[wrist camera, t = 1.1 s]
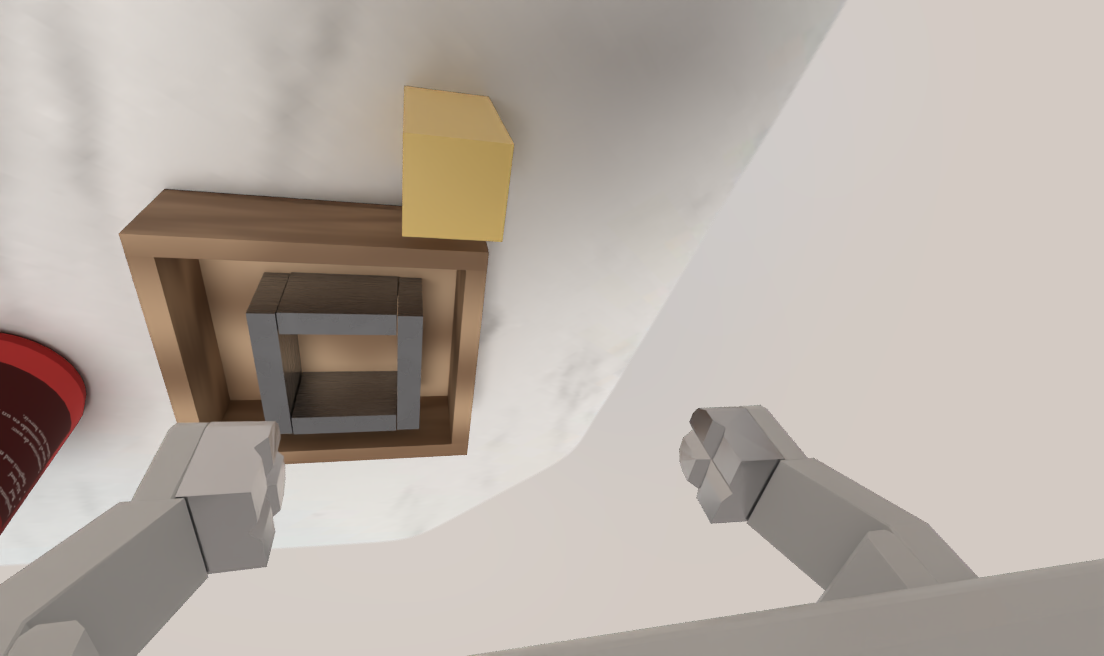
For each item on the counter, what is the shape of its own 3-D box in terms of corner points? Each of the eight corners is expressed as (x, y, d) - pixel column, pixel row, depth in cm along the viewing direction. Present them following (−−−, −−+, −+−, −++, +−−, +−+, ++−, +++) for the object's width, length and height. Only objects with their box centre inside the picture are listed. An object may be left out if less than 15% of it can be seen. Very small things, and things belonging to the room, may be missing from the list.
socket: (263, 271, 28) (245, 312, 25) (421, 277, 30) (423, 315, 27) (281, 387, 32) (267, 435, 29) (418, 385, 35) (419, 429, 31)
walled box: (164, 189, 25) (118, 233, 21) (478, 211, 29) (488, 252, 25) (217, 406, 33) (191, 468, 29) (460, 400, 37) (466, 454, 33)
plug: (404, 85, 25) (403, 132, 19) (488, 96, 26) (514, 144, 20) (403, 169, 27) (402, 236, 21) (481, 175, 28) (502, 241, 22)
